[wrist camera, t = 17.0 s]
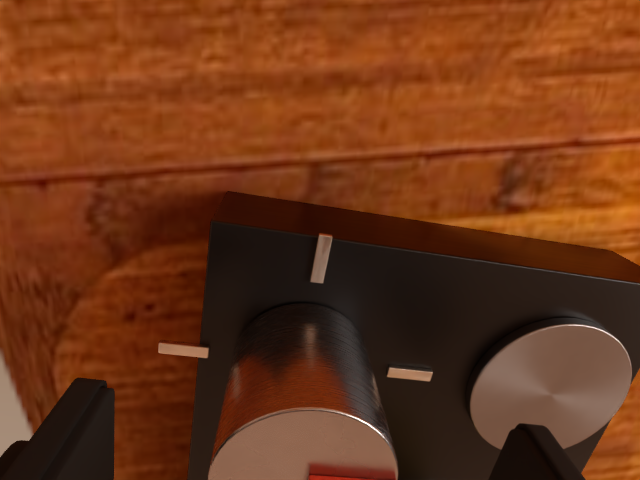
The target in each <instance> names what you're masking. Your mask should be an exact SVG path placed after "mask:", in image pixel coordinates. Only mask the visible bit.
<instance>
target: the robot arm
mask: <svg viewBox="0 0 640 480" xmlns="http://www.w3.org/2000/svg"><path fill="white" fill-rule="evenodd" d="M114 401H115V393H114V389H113V388H107V383H106V381H104V380H96V379H86V378H77V379H75V380H74V381H73V382H72V383H71V385H70V386H69V388H68V389H67V390H66V392H65V393H64V394H63V396H62V397H61V398H60V400H59V401H58V402H57V404H56V405H55V406H54V408H53V409H52V410H51V412H50V413H49V415H48V416H47V417H46V419H45V420H44V421H43V423H42V424H41V425H40V427H39V428H38V429H37V431H36V432H35V433H34V435H33V436H32V438H31V439H30V440H29V441H22V440H21V441H16V442H15V443H13V444H12V445H11V446H10V447H9V448H8V449H7V450H6V451H5V452H4V453H3V455H2V456H1V457H0V480H113V479H114ZM488 480H585V478H584V477H583V476H582V474H581V473H580V472H579V470H578V469H577V467H576V466H575V465H574V463H573V462H572V461H571V459H570V458H569V456H568V455H567V454H566V452H565V451H564V450H563V448H562V447H561V445H560V444H559V443H558V441H557V440H556V439H555V437H554V436H553V434H552V433H551V432H550V430H549V429H548V428H547V427H545V426H543V425H534V424H525V423H519V424H518V425H517V426H516V427H515V429H512V430H510V432H509V434H508V436H507V438H506V441H505V443H504V445H503V447H502V450H501V452H500V454H499V456H498V459H497V461H496V463H495V465H494V468H493V470H492V472H491V475H490V477H489V479H488Z"/></svg>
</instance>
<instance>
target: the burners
mask: <svg viewBox="0 0 640 480" xmlns="http://www.w3.org/2000/svg"><path fill="white" fill-rule="evenodd" d="M631 378H632V367H631V361H630V358H629V355H628V353H627V351H626V349H625V348H624V346H623V345H622V343H621V342H620V341H619V340H618V339H617V338H616V337H614V336H613V335H612V334H611V333H609V332H608V331H607V330H606V329H604V328H603V327H601V326H599V325H597V324H595V323H592V322H589V321H587V320H582V319H577V318H552V319H546V320H541V321H538V322H534V323H531V324H529V325H526V326H523V327H521V328H519V329H517V330H515V331H513V332H511V333H510V334H508V335H507V336H505V337H503V338H502V339H501V340H499V341H498V342H497V343H496V344H494V345H493V346H492V347H491V348H490V349H489V350H488V351H487V352H486V353H485V354H484V355H483V357H482V358H481V359H480V360H479V362H478V363H477V365H476V366H475V368H474V370H473V372H472V374H471V376H470V378H469V382H468V385H467V390H466V407H467V412H468V415H469V417H470V420H471V421H472V423H473V425H474V427H475V429H476V430H477V432H478V433H479V434H480V435H481V437H482V438H483V439H484V440H486V441H487V442H488V443H489V444H491V445H493V446H494V447H496V448H498V449H501V450H502V447H503V445H504V443H505V441H506V438H507V436H508V434H509V432H510V430H512V429H515V427H516V426H517V425H518V424H519V423H525V424H534V425H543V426H545V427H547V428H548V429H549V430H550V432H551V433H552V434H553V436H554V437H555V439H556V440H557V441H558V443H559V444H560V445H561V447H562V448H563V449H565V448H568V447H570V446H573V445H575V444H577V443H579V442H581V441H583V440H585V439H586V438H588V437H590V436H591V435H593V434H594V433H596V432H597V431H598V430H599V429H601V428H602V427H603V426H604V425H605V424H606V423H607V422H608V421H609V420H610V419H611V418H612V417H613V416H614V415H615V414H616V412H617V411H618V410H619V408H620V407H621V405H622V404H623V402H624V400H625V398H626V396H627V394H628V391H629V388H630V384H631Z"/></svg>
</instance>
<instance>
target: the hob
mask: <svg viewBox="0 0 640 480" xmlns="http://www.w3.org/2000/svg"><path fill="white" fill-rule="evenodd" d="M299 303H305V304H315V305H320V306H324V307H327V308H330V309H332V310H334V311H337V312H338V313H340V314H342V315H343V316H345V317H346V318H347V319H349V320H350V321H351V322H352V323H353V324H354V325H355V326H356V327H357V329H358V330H359V332H360V333H361V335H362V337H363V339H364V342H365V345H366V349H367V352H368V356H369V359H370V363H371V367H372V370H373V374H374V377H375V381H376V385H377V388H378V392H379V395H380V399H381V403H382V406H383V410H384V413H385V417H386V421H387V424H388V428H389V431H390V435H391V439H392V442H393V446H394V449H395V453H396V456H397V460H398V468H399V471H398V480H488V479H489V477H490V475H491V472H492V470H493V468H494V465H495V463H496V461H497V459H498V456H499V454H500V452H501V449H498V448H496V447H494V446H493V445H491V444H489V443H488V442H487V441H486V440H484V439H483V438H482V437H481V435H480V434H479V433H478V432H477V430H476V429H475V427H474V425H473V423H472V421H471V420H470V417H469V415H468V412H467V407H466V390H467V385H468V382H469V378H470V376H471V374H472V372H473V370H474V368H475V366H476V365H477V363H478V362H479V360H480V359H481V358H482V357H483V355H484V354H485V353H486V352H487V351H488V350H489V349H490V348H491V347H492V346H493V345H494V344H496V343H497V342H498V341H499V340H501V339H502V338H503V337H505V336H507V335H508V334H510V333H511V332H513V331H515V330H517V329H519V328H521V327H523V326H526V325H529V324H531V323H534V322H538V321H541V320H546V319H552V318H577V319H582V320H587V321H589V322H592V323H595V324H597V325H599V326H601V327H603V328H604V329H606V330H607V331H608V332H609V333H611V334H612V335H613V336H614V337H616V338H617V339H618V340H619V341H620V342H621V343H622V345H623V346H624V348H625V349H626V351H627V353H628V355H629V358H630V361H631V367H632V378H631V383H632V381H633V379H634V377H635V376H636V374H637V372H638V370H639V368H640V266H639V265H637V264H635V263H633V262H631V261H630V260H628V259H626V258H624V257H622V256H620V255H619V254H617V253H615V252H613V251H609V250H603V249H597V248H590V247H584V246H577V245H571V244H564V243H558V242H552V241H545V240H539V239H532V238H526V237H519V236H513V235H507V234H500V233H494V232H487V231H481V230H474V229H468V228H462V227H455V226H449V225H442V224H436V223H429V222H423V221H417V220H410V219H404V218H397V217H391V216H384V215H378V214H372V213H365V212H359V211H352V210H346V209H339V208H333V207H327V206H320V205H314V204H307V203H301V202H294V201H288V200H282V199H275V198H269V197H262V196H256V195H249V194H243V193H237V192H230V191H228V192H227V193H226V195H225V197H224V199H223V200H222V202H221V204H220V206H219V208H218V209H217V211H216V213H215V215H214V217H213V219H212V220H211V224H210V235H209V246H208V257H207V268H206V279H205V290H204V301H203V312H202V323H201V334H200V344H194V343H184V342H175V341H166V340H160V341H159V347H158V353H162V354H172V355H181V356H191V357H198V367H197V378H196V389H195V400H194V411H193V422H192V433H191V444H190V455H189V467H188V478H187V480H208V472H209V468H210V463H211V458H212V453H213V448H214V444H215V439H216V434H217V429H218V424H219V420H220V415H221V410H222V405H223V400H224V396H225V391H226V386H227V381H228V376H229V372H230V367H231V362H232V357H233V353H234V348H235V345H236V342H237V340H238V338H239V336H240V335H241V333H242V332H243V331H244V329H245V328H246V327H247V326H248V325H249V324H250V323H251V322H252V321H253V320H254V319H256V318H257V317H258V316H260V315H262V314H263V313H265V312H267V311H269V310H272V309H274V308H277V307H280V306H284V305H289V304H299ZM630 385H631V384H630ZM611 419H612V418H611ZM611 419H610V420H611ZM610 420H609V421H608V422H607V423H606V424H605V425H604V426H603V427H602V428H601V429H599V430H598V431H597V432H596V433H594V434H593V435H591V436H590V437H588V438H586V439H585V440H583V441H581V442H579V443H577V444H575V445H573V446H570V447H568V448H565V449H563V450H564V451H565V452H566V454H567V455H568V456H569V458H570V459H571V461H572V462H573V463H574V465H575V466H576V467H577V469H578V470H579V472H580V473H582V471H583V469H584V467H585V465H586V464H587V462H588V460H589V458H590V456H591V455H592V453H593V451H594V449H595V447H596V446H597V444H598V442H599V440H600V438H601V437H602V435H603V433H604V431H605V429H606V428H607V426H608V424H609V422H610Z"/></svg>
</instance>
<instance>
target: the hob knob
mask: <svg viewBox="0 0 640 480" xmlns="http://www.w3.org/2000/svg"><path fill="white" fill-rule="evenodd" d="M398 471H399V468H398V460H397V456H396V453H395V449H394V446H393V442H392V439H391V435H390V431H389V428H388V424H387V421H386V417H385V413H384V410H383V406H382V403H381V399H380V395H379V392H378V388H377V385H376V381H375V377H374V374H373V370H372V367H371V363H370V359H369V356H368V352H367V349H366V345H365V342H364V339H363V337H362V335H361V333H360V332H359V330H358V329H357V327H356V326H355V325H354V324H353V323H352V322H351V321H350V320H349V319H347V318H346V317H345V316H343V315H342V314H340V313H338V312H337V311H334V310H332V309H330V308H327V307H324V306H320V305H315V304H305V303H299V304H289V305H284V306H280V307H277V308H274V309H272V310H269V311H267V312H265V313H263V314H262V315H260V316H258V317H257V318H256V319H254V320H253V321H252V322H251V323H250V324H249V325H248V326H247V327H246V328H245V329H244V331H243V332H242V333H241V335H240V336H239V338H238V340H237V342H236V345H235V348H234V353H233V357H232V362H231V367H230V372H229V376H228V381H227V386H226V391H225V396H224V400H223V405H222V410H221V415H220V420H219V424H218V429H217V434H216V439H215V444H214V448H213V453H212V458H211V463H210V468H209V472H208V480H398Z"/></svg>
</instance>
